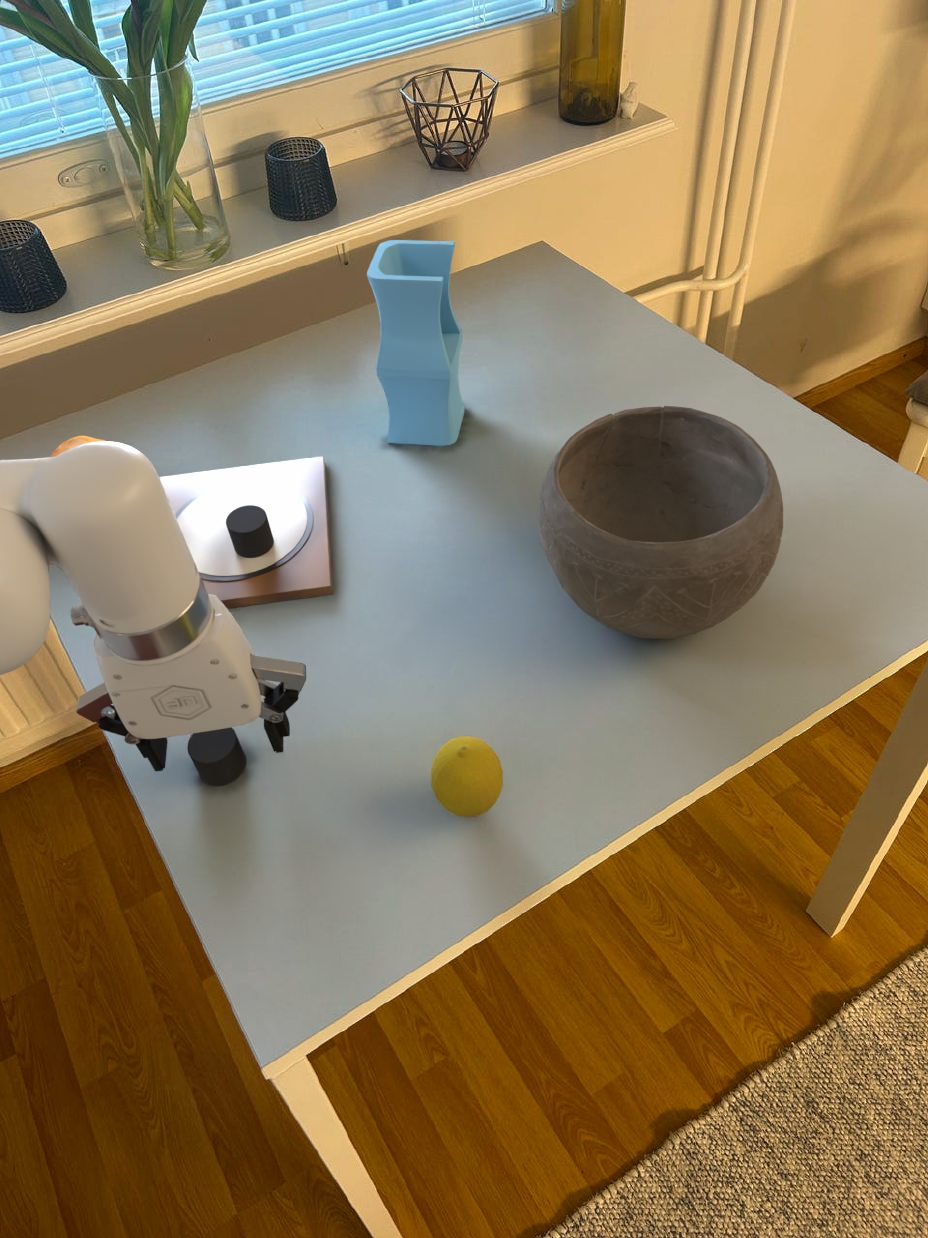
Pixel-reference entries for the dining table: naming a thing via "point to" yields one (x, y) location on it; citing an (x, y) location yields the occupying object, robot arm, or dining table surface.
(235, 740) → the dot
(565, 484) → the bowl
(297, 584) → the board
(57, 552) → the robot arm
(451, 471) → the dining table surface
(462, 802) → the lemon
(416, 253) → the vase
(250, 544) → the dot
